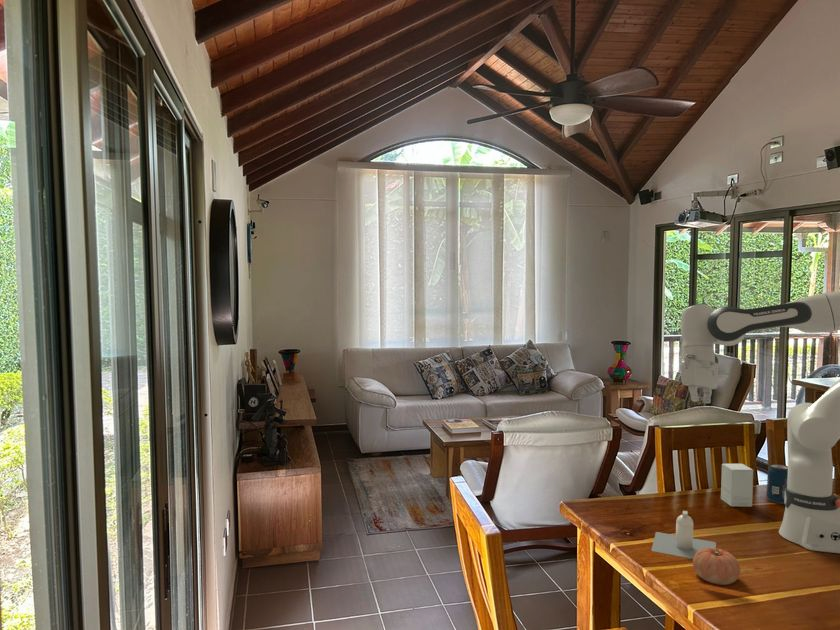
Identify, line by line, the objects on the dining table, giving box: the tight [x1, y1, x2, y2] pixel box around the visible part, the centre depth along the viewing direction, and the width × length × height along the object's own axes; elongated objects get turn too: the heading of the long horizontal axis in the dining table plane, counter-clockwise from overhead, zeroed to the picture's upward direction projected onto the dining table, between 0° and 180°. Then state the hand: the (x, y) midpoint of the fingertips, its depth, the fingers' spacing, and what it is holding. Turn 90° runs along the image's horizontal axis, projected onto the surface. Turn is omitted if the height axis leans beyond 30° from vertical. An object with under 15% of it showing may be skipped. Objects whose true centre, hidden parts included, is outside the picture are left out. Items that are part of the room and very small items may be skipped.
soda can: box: [766, 463, 788, 504], centre depth 206 cm, size 7×7×12 cm
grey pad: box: [650, 531, 717, 560], centre depth 169 cm, size 16×14×1 cm
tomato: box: [692, 547, 741, 586], centre depth 151 cm, size 11×11×8 cm
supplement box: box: [720, 463, 754, 508], centre depth 204 cm, size 7×7×13 cm
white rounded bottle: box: [675, 510, 694, 550], centre depth 168 cm, size 4×4×10 cm
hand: (701, 402), depth 182 cm, fingers open, 8 cm apart
